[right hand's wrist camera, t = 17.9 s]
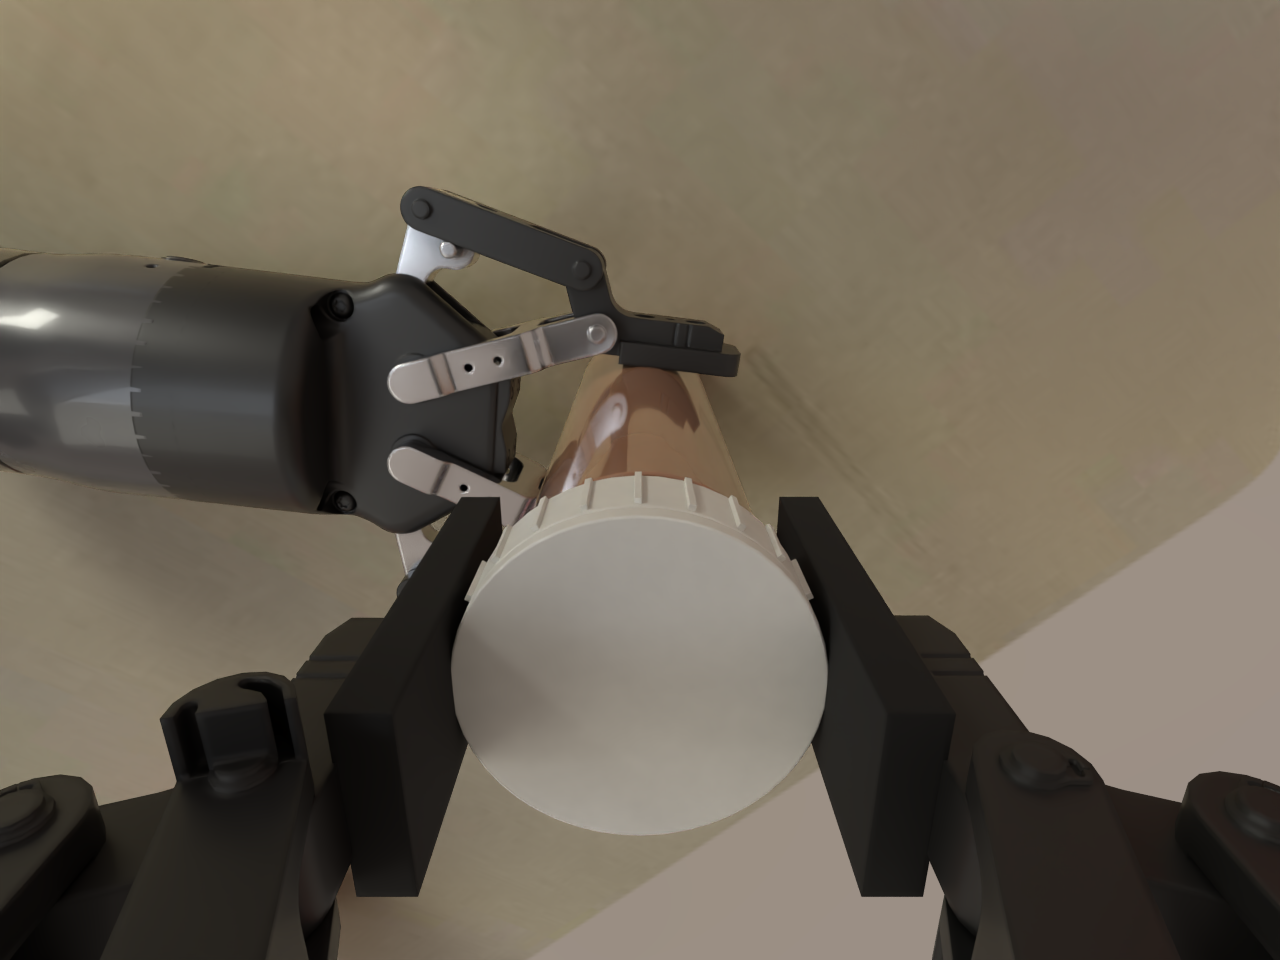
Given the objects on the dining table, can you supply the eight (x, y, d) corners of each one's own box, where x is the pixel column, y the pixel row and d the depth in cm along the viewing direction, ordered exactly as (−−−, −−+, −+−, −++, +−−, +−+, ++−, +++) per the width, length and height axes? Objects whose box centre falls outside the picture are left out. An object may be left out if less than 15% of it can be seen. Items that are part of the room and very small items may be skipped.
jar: (569, 344, 29) (461, 529, 11) (690, 322, 29) (770, 476, 11) (594, 459, 31) (533, 774, 13) (709, 439, 30) (803, 734, 13)
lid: (854, 702, 12) (884, 770, 11) (561, 805, 13) (550, 883, 12) (736, 413, 11) (753, 446, 9) (405, 552, 12) (370, 604, 10)
